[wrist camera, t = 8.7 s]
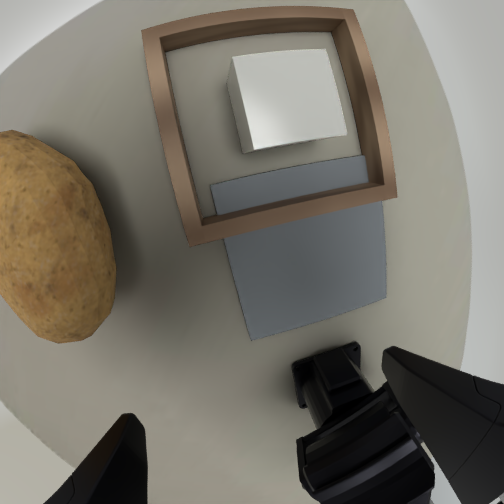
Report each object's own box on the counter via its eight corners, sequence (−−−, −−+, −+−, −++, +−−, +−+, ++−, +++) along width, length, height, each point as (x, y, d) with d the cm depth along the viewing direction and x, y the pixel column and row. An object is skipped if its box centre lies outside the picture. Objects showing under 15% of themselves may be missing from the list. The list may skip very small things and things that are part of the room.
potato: (70, 99, 14) (4, 74, 7) (166, 262, 19) (141, 324, 11) (-8, 181, 14) (-74, 197, 7) (76, 320, 19) (35, 383, 12)
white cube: (314, 140, 18) (347, 135, 13) (242, 153, 17) (254, 150, 13) (298, 73, 16) (325, 49, 11) (226, 83, 16) (232, 56, 11)
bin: (378, 192, 19) (397, 197, 17) (192, 236, 18) (189, 247, 16) (339, 22, 15) (353, 9, 12) (148, 45, 14) (141, 30, 12)
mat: (383, 295, 22) (386, 297, 22) (250, 337, 22) (250, 340, 21) (373, 153, 18) (375, 153, 18) (210, 184, 18) (210, 185, 17)
